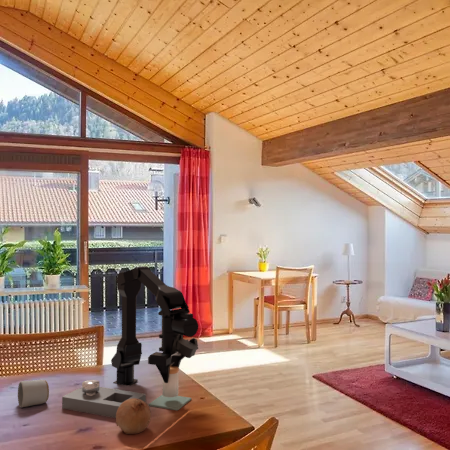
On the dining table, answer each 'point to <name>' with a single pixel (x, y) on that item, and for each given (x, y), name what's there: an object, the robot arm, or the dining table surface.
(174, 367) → the small lidded jar
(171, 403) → the mat
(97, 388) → the plunger
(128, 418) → the onion
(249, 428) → the dining table surface
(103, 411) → the housing
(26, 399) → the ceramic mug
